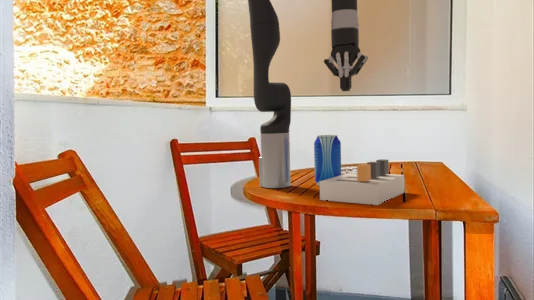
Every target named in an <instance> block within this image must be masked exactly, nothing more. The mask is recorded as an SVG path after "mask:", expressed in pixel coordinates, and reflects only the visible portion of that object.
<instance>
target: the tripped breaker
mask: <svg viewBox="0 0 534 300" xmlns="http://www.w3.org/2000/svg"><path fill="white" fill-rule="evenodd" d="M356 169H357V170H356V173H357V181H369V180H371V164H367V163H361V164H357V165H356Z"/></svg>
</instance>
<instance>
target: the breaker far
mask: <svg viewBox="0 0 534 300" xmlns="http://www.w3.org/2000/svg"><path fill="white" fill-rule="evenodd" d="M375 162H380V175H386V174H389V159H376V160H375Z"/></svg>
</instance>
